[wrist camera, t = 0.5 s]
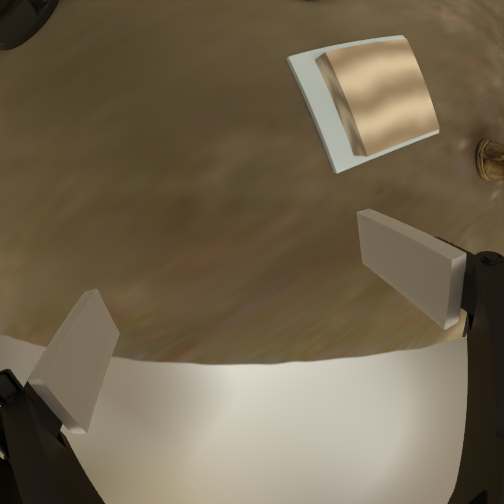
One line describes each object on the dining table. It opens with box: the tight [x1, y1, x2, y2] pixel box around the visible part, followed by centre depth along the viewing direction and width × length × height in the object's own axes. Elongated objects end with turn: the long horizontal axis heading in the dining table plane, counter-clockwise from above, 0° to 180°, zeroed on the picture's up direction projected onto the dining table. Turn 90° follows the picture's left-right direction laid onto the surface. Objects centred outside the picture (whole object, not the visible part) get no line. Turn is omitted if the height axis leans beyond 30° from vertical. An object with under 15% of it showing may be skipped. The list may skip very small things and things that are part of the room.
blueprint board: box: [286, 35, 439, 173], centre depth 37 cm, size 18×22×1 cm
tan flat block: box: [315, 39, 440, 157], centre depth 35 cm, size 15×15×4 cm
